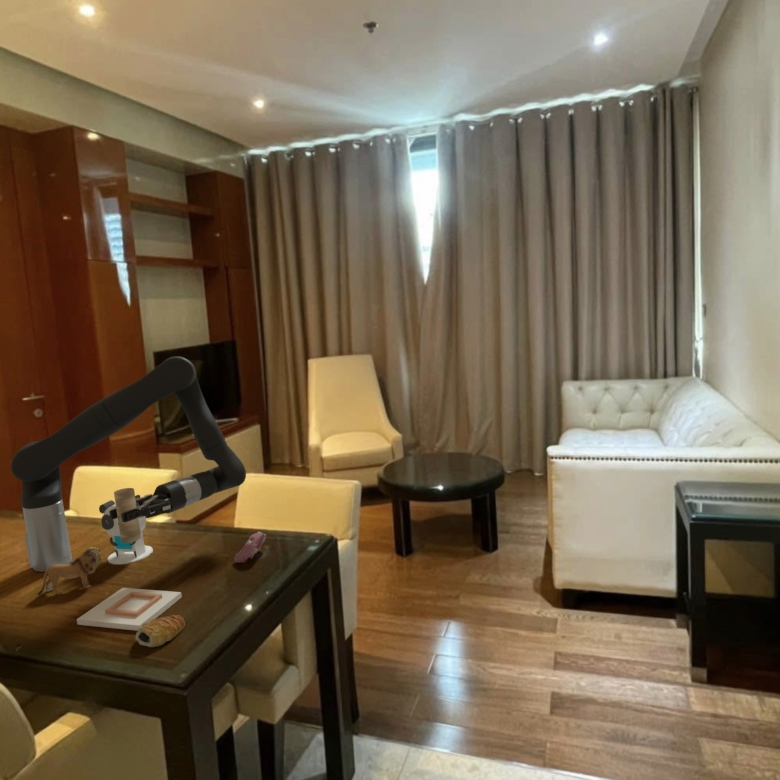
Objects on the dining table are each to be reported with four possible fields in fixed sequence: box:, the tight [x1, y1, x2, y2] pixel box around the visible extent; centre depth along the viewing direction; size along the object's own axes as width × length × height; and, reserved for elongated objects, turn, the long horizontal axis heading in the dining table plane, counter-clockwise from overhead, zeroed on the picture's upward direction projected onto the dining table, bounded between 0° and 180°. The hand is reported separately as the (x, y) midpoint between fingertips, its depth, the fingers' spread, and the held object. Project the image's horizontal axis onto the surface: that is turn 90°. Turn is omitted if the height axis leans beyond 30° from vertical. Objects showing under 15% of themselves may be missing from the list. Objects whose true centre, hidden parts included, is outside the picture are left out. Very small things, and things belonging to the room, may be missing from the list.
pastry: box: [135, 614, 186, 648], centre depth 120 cm, size 9×7×4 cm
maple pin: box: [113, 487, 141, 543], centre depth 142 cm, size 4×4×12 cm
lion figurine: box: [37, 546, 103, 596], centre depth 144 cm, size 15×5×9 cm, turn 118°
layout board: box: [76, 587, 183, 632], centre depth 131 cm, size 16×14×2 cm
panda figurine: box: [98, 499, 154, 565], centre depth 161 cm, size 12×11×15 cm
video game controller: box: [233, 531, 267, 564], centre depth 155 cm, size 10×5×7 cm, turn 169°
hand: (116, 516), depth 140 cm, fingers closed on maple pin, 4 cm apart
